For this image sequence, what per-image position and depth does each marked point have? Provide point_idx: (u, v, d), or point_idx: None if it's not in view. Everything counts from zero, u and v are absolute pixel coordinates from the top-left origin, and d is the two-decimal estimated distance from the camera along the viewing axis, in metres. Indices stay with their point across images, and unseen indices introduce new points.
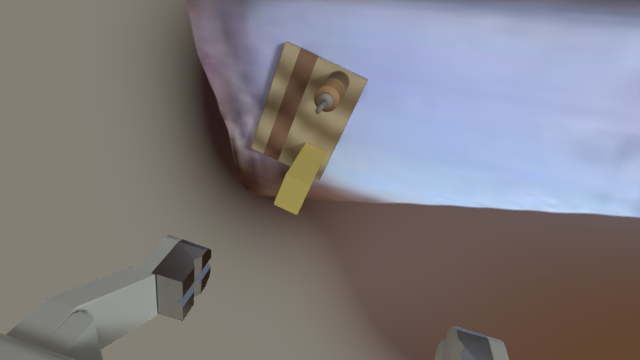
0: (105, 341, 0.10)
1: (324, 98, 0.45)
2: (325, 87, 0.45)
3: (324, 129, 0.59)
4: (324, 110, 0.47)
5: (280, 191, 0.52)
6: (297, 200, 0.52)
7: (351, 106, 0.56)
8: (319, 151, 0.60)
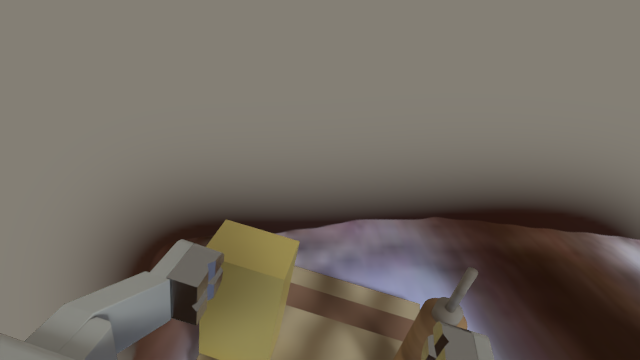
0: (120, 346, 0.10)
1: None
2: None
3: None
4: (425, 315, 0.26)
5: (258, 231, 0.27)
6: (242, 256, 0.24)
7: None
8: (270, 355, 0.30)
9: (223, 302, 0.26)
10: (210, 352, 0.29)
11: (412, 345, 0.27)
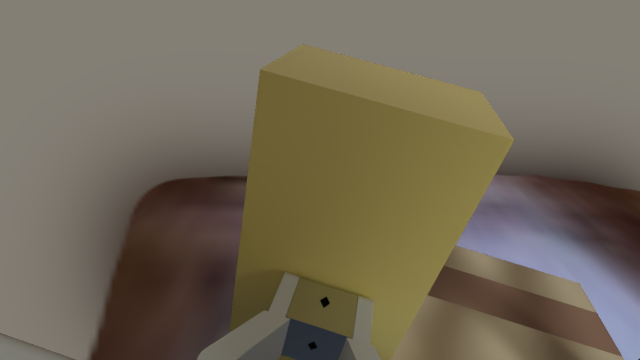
0: None
1: None
2: None
3: None
4: None
5: (382, 67, 0.11)
6: (372, 89, 0.09)
7: None
8: None
9: (302, 231, 0.10)
10: None
11: None
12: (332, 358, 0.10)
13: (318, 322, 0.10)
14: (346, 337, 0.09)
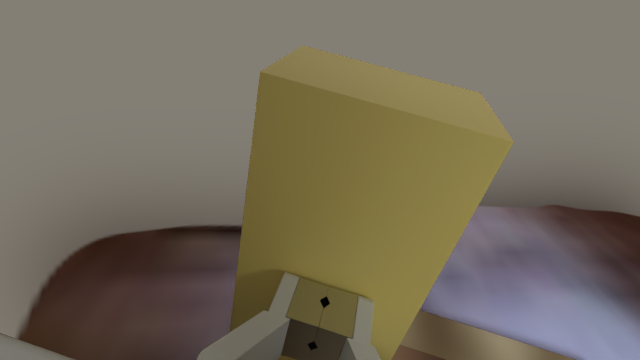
0: None
1: None
2: None
3: None
4: None
5: (382, 68, 0.11)
6: (371, 91, 0.09)
7: None
8: None
9: (302, 232, 0.10)
10: None
11: None
12: (332, 358, 0.10)
13: (318, 322, 0.10)
14: (346, 337, 0.09)
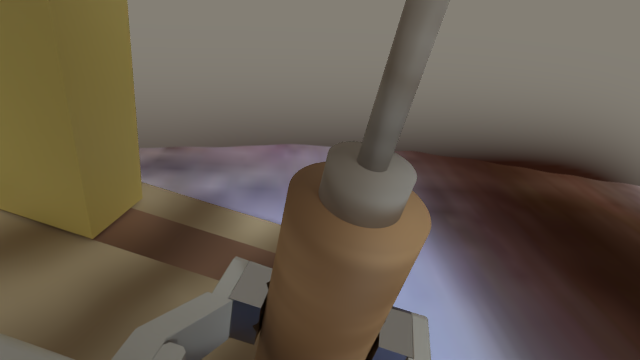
0: None
1: (391, 163, 0.08)
2: (416, 201, 0.09)
3: (73, 358, 0.13)
4: (296, 191, 0.08)
5: None
6: None
7: None
8: (106, 210, 0.18)
9: None
10: (3, 201, 0.18)
11: (273, 297, 0.09)
12: None
13: (377, 341, 0.09)
14: (407, 357, 0.09)
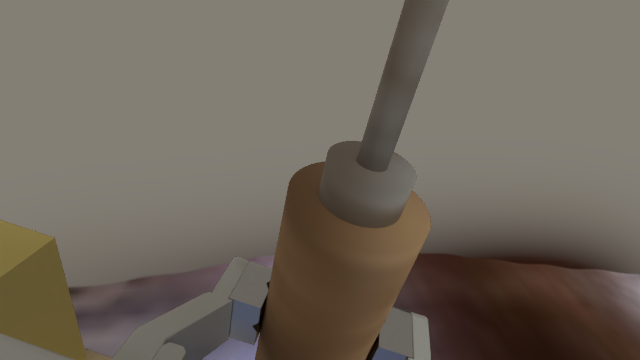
0: None
1: (390, 162, 0.08)
2: (416, 201, 0.09)
3: None
4: (295, 191, 0.08)
5: None
6: None
7: None
8: None
9: None
10: None
11: (273, 297, 0.09)
12: None
13: (377, 341, 0.09)
14: (407, 357, 0.09)
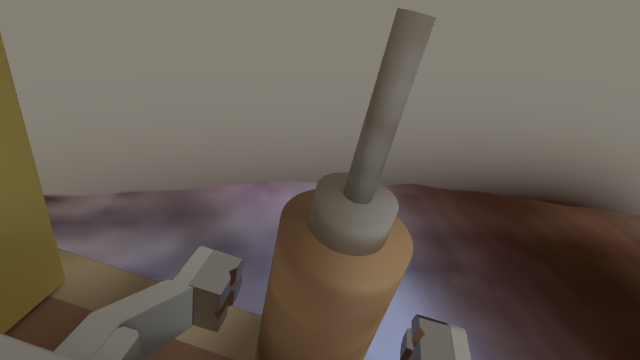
0: (143, 354, 0.09)
1: (375, 194, 0.08)
2: (400, 227, 0.09)
3: None
4: (287, 221, 0.08)
5: None
6: None
7: None
8: None
9: None
10: None
11: (267, 318, 0.10)
12: None
13: (419, 355, 0.09)
14: None
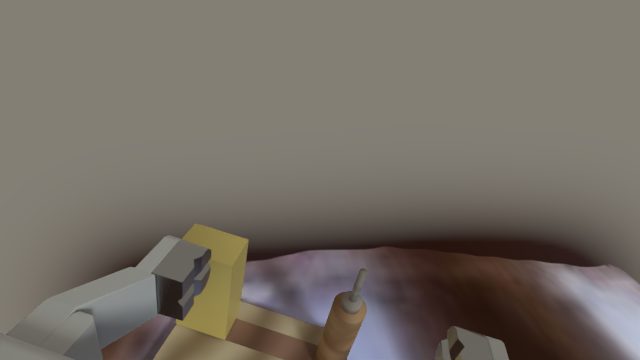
0: (105, 341, 0.10)
1: (356, 298, 0.34)
2: (364, 304, 0.35)
3: None
4: (335, 305, 0.34)
5: (218, 232, 0.36)
6: None
7: None
8: (229, 326, 0.40)
9: None
10: (184, 322, 0.39)
11: (328, 328, 0.35)
12: None
13: None
14: None
